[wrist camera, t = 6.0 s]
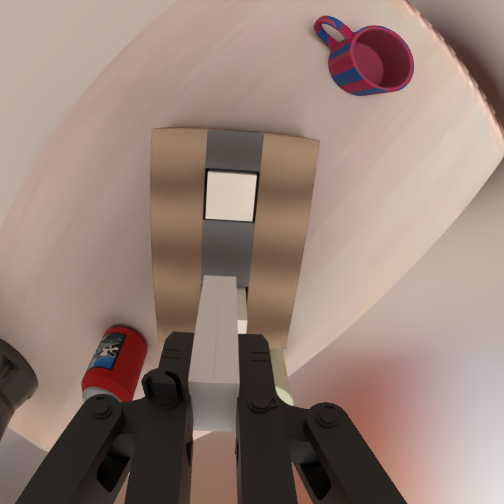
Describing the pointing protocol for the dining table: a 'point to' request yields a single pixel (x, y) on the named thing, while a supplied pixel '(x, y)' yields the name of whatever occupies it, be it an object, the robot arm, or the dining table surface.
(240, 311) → the peg
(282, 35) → the dining table surface
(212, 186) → the peg
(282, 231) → the socket block
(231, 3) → the dining table surface
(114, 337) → the beverage can
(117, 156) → the dining table surface
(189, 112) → the dining table surface
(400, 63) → the mug
